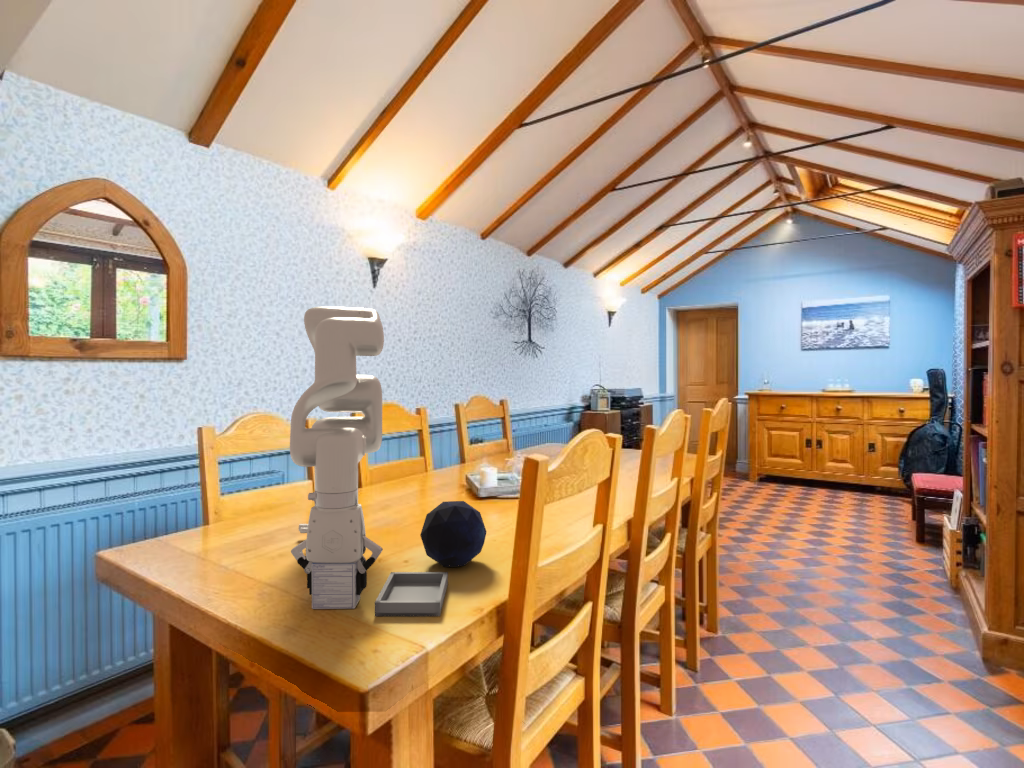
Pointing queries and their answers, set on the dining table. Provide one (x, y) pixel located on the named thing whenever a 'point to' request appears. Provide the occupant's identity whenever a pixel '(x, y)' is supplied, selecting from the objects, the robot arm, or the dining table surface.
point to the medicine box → (334, 586)
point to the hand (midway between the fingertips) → (337, 591)
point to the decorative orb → (453, 533)
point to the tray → (412, 594)
